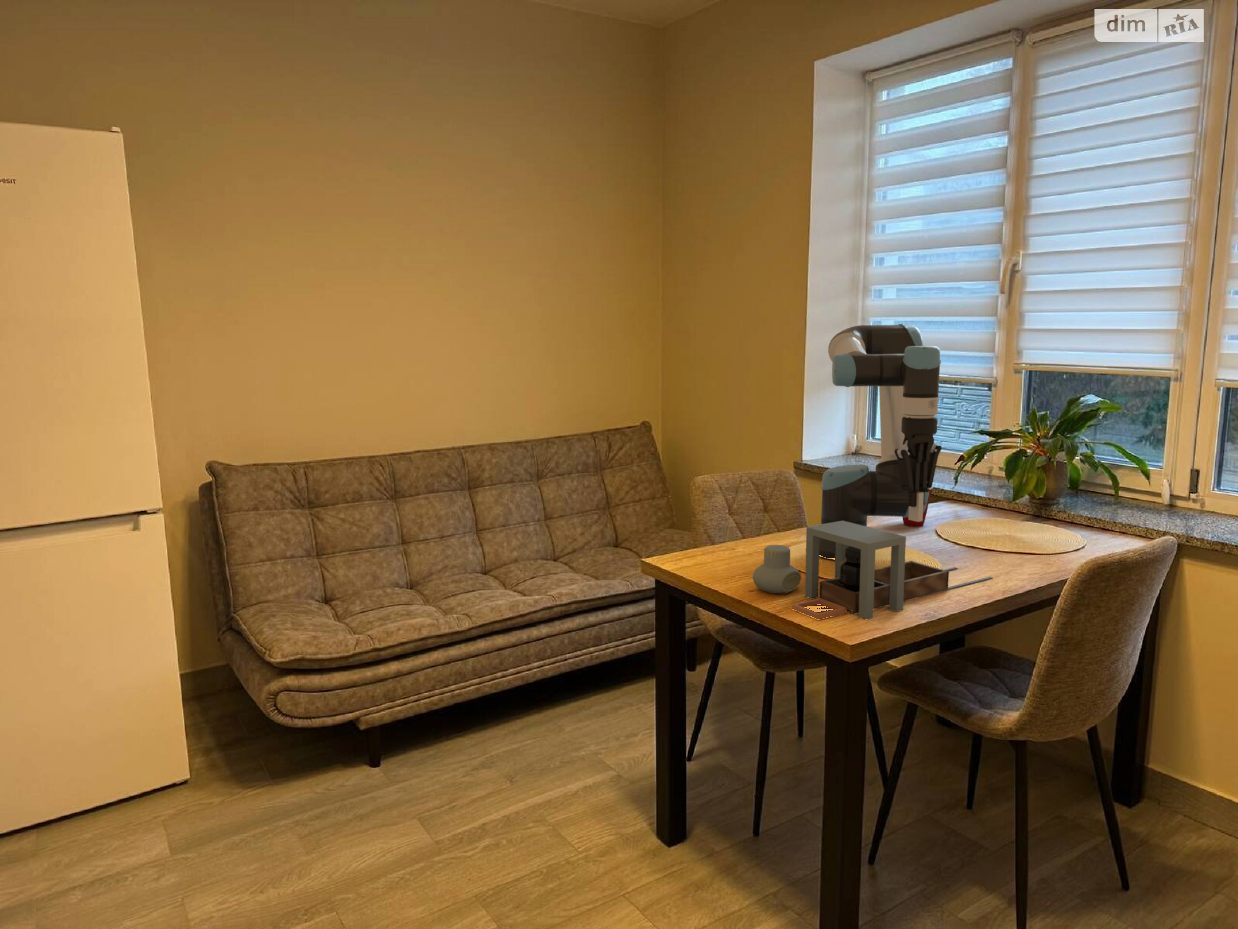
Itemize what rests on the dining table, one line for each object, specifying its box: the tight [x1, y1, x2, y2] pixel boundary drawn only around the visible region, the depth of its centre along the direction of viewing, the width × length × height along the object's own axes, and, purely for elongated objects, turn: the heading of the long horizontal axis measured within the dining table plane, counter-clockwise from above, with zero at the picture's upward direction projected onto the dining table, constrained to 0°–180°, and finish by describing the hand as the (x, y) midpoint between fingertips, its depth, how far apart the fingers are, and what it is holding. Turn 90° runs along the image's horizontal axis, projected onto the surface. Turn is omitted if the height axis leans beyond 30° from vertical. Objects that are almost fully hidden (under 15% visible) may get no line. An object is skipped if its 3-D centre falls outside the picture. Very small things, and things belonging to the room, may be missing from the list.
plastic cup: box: [902, 484, 934, 528], centre depth 258 cm, size 11×11×12 cm
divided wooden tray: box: [818, 560, 950, 612], centre depth 194 cm, size 29×11×4 cm, turn 121°
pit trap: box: [791, 597, 848, 620], centre depth 184 cm, size 8×8×1 cm
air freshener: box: [752, 544, 802, 594], centre depth 198 cm, size 11×8×10 cm
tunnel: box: [804, 521, 994, 620], centre depth 197 cm, size 46×18×16 cm, turn 121°
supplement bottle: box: [839, 547, 861, 592], centre depth 188 cm, size 7×7×12 cm
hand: (915, 520), depth 196 cm, fingers closed
